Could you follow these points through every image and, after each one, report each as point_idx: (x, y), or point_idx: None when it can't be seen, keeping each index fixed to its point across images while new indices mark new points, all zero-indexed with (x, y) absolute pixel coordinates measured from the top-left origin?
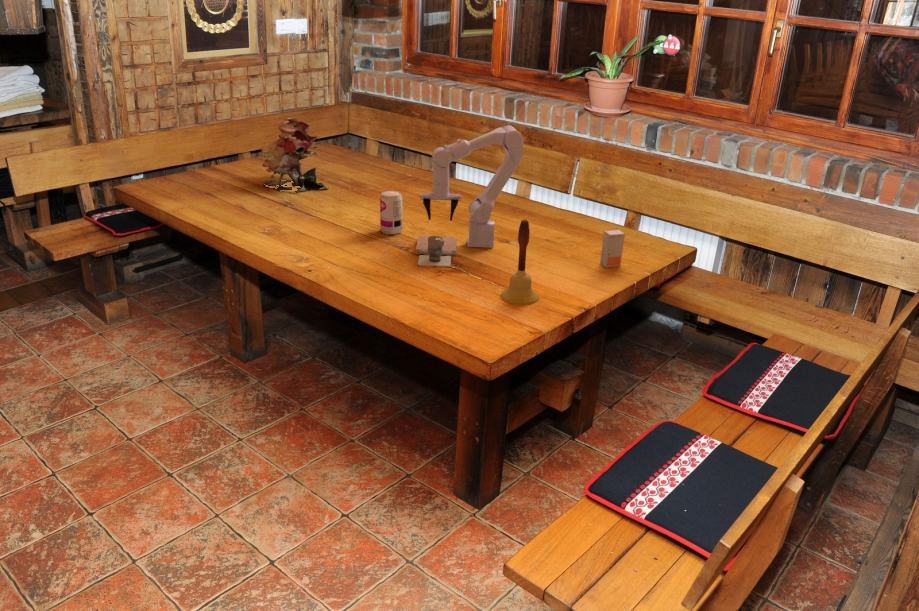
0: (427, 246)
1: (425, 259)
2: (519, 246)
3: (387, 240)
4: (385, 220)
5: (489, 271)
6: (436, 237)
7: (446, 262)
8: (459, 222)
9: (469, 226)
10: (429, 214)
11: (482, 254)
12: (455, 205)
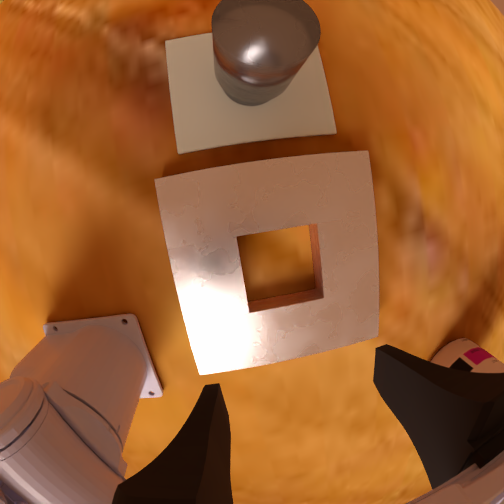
0: (321, 203)
1: (296, 81)
2: None
3: (460, 288)
4: (493, 357)
5: (24, 74)
6: (260, 35)
7: (187, 67)
8: (243, 493)
9: (117, 401)
10: (407, 362)
11: (56, 241)
12: (134, 485)
